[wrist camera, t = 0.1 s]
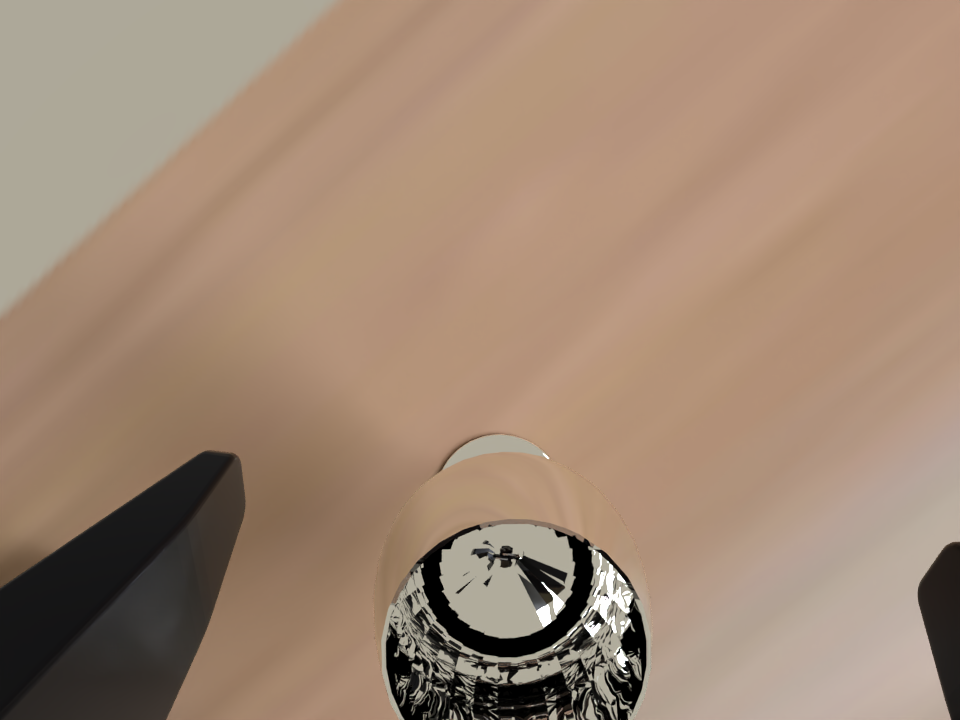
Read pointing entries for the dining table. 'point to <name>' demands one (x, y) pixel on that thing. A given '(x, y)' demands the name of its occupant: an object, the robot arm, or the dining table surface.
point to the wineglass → (511, 594)
